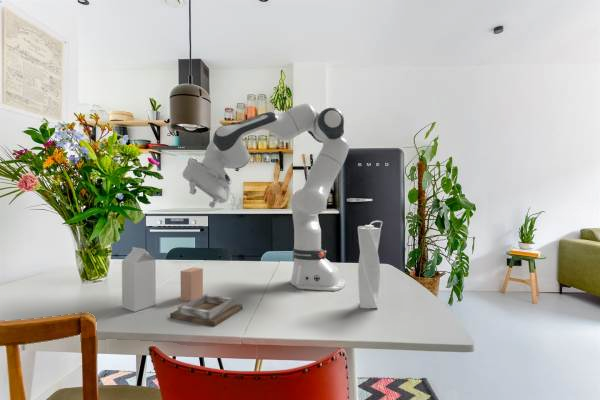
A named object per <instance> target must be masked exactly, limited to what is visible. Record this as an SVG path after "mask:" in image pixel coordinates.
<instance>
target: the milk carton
mask: <svg viewBox="0 0 600 400" xmlns="http://www.w3.org/2000/svg"><path fill="white" fill-rule="evenodd" d="M131 248H132V250H130V252H129V253H128V254H127V255H126V257H124V258H123V259H122V261H121V303H122V305H121V308H122V309H125V310H128V311H131V312H138V311H142V310H144V309H148V308H150V307H154V306H156V305H157V303H156V302H157V299H156V297H157V293H156V286H157V285H156V284H157V283H156V281H157V280H156V278H157V277H156V259H155V258H154V257H152V256H151V255H150V252H148V251H147V250H146V249H145V248H142V247H141V248H140V247H135V246H133V247H131Z"/></svg>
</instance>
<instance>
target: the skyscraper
mask: <svg viewBox="0 0 600 400" xmlns="http://www.w3.org/2000/svg"><path fill="white" fill-rule="evenodd" d="M375 223H381V224H380V227H375V225H372V224H375ZM383 223H384V222H383V221H382V220H379V219H377V220H373V221H371V222H370V224H365V225H359V226H358V227H357V235H358V236H357V237H358V245H359V257H358V269H357V282H358V283H357V285H358V295H359V296H358V297H359V307H360V309H370V308H377V309H376V310H378V309H379V307H378V305H377V304H378V301H379V300H378V299H379V294H380V293H379V291H380V284H381V281H380V280H381V265H380V257H379V252H378V251H379V245H380V239H381V238H380V237H381V233H382V232H381V231H382V226H383Z"/></svg>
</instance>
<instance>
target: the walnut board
mask: <svg viewBox="0 0 600 400" xmlns="http://www.w3.org/2000/svg"><path fill="white" fill-rule="evenodd" d="M243 306H244V305H242V304H239V303H236V298H234V297H233V298H232V297H226V296H219V295H215V294H213V295H212V294H208V293H207V294H206V293H205V294H203V296H201V297H199V298H197V299H194V300H192V301H187V302H185V303H184V304H181V305H179V306H178V307H177V310H175V311H172V312H170V313H169V318H171V319H176V320H181V321H186V322H191V323H196V324H200V325H207V326H209V327H210V326H212V327H216V326H218V325H220V324H221V323H222V322H225V321H226V320H227V319H229V318H230V317H232V316H234V315H235V314H237V313H238V312H240V311H242V310H243V308H244V307H243Z"/></svg>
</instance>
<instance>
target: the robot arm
mask: <svg viewBox="0 0 600 400" xmlns="http://www.w3.org/2000/svg"><path fill="white" fill-rule="evenodd" d="M344 125H345V119H344V115H343V113H342V112H341V111H340V110H339V109H338V108H335V107H328V108H324V109H322V111H320V113H319V112H317V111H316V110H315V108H314V107H313V106H312V105H311V104H309V103H301V104H298V105H295V106H293V107H290V108H289V109H287V110H285V111H282V112H280V113H279V112H278V113H274V112H271V111H268V112H264V113H261V114H257V115H254V116H252V117H249V118H246V119H243V120H241V121H238V122H237V121H236V122H234V123H230V124H225V125H221V126H220V127H218V128H216V130H215V131H214V133H213V138H212V139H211V140H210V142H209V144H208V145H207V147H206V150H205V152H204V158H203V159H202V161H199V160H198V159H197V158H195V157H190V158H188V161H187V165H186V166H185V168H184V170H183V171H182V177H183V179H185V180H186V181H188V183H189V184H188V185H189V193H190V195H196V193H197V191H198V190H197V189H199V190H201V191H202V192H203V193H205V194H206V195H208V196H209V197H210V198H212V201H210V202H209V204H208V206H209V207H210V208H211V209H213V208H215V207H216V205H217V203H219V204H223V203H226V202H227V201H229V198H230V193H231V186H230V185H231V184H232V179H231V177H230V176H229V175H228V173H227V172H226V170H225V168H226V169H234V170H235V169H241V168H243V167H246V165H247V164H248V163H249V162H250V158H251V155H250V151H248V148H247V146H246V145H245V142H244V141H243V139H242V138H243V137H245V136H248V135H250V134H252V133H255V132H258V131H261V130H262V131H263V130H265V131H268V132H269V133H271V135H272V136H274V137H275V138H277V139H278V140H280V141H289V140H293V139H294V138H296V137H297V136H299V135H301V134H303V133H306V132H307V133H308V134H309V135H310V136H311V137H312V139H314V141H316V142H318V143H322V147H321V150H320V151H319V153H318V155H317V157H316V158H315V161H314V163H313V164H312V166H311V168H310V169H309V172H308V175H307V178H306V182H305V183H304V185H303V188H300V189H297V190H296V191H295V192H294V193H293V194H292V196H291V200H290V201H291V202H290V203H291V211H292V222H293V229H294V230H293V231H294V232H293V233H294V236H293V239H294V240H293V242H294V243H293V244H294V246H293V249H292V251H293V252H292V261H293V267H292V274H291V279H290V280H289V281H290V282H289V283H290V284H291V285H292V286H295V287H296V288H297V289H301V290H314V291H327V292H328V291H333V292H334V291H339V290H342V289H343V288H344V287H345V286H346V280H345V279H342V278H340V277H341V276H340V271H339V269H338V267H337V266H336V265H335V264H333V263H332V262H331V261H330V260H328V259H327V258H326V255H327V254H326V253H327V250H324V249H323V248H322V229H321V226H320V222H319V221H320V220H319V214H321V213H323V212H324V211H325V210H326V208H327V206H328V198H329V196H330V193H331V190H332V187H333V184H334V183H335V180H336V179H337V177H338V175H339V173H340V172H341V170H342V167H343V165H344V163H345V162H346V158H347V156H348V153H349V149H350V144H349V142H348V141H347V139H345V138H344V137H343V135H344V134H345V132H344V131H345V129H344ZM196 188H197V189H196Z"/></svg>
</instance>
